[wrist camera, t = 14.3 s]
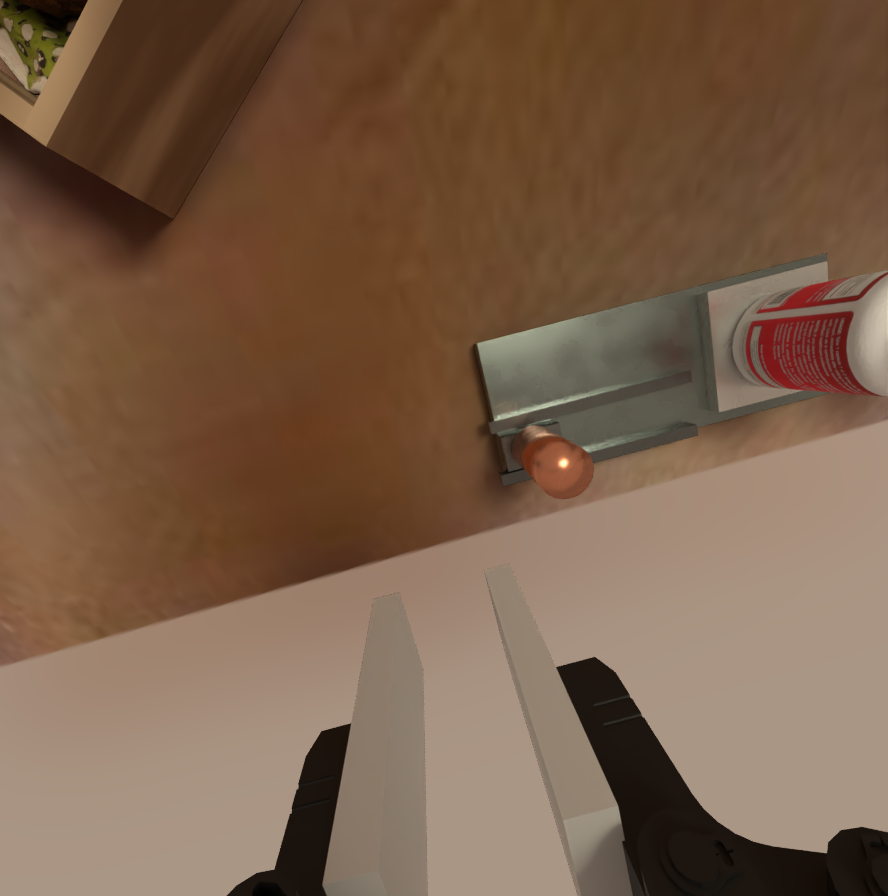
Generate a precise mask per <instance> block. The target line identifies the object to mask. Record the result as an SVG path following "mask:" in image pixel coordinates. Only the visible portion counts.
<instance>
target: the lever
mask: <svg viewBox="0 0 888 896" xmlns="http://www.w3.org/2000/svg"><path fill="white" fill-rule="evenodd" d="M498 436H499V441H500V445H501V450H502V454H503V459H504V463H505V467H506V469H507V470H508V471H509V472H510V471H514V470H517V469H521V468H523V469H524V470H525V471H526V472H527V473H528V475H529V476H530V477H531V478H532V479H533V480H534V481H535V482H536V483H537V484H538V485H539V486H540V487H541V488H542V489H543V490H544V491H545V492H546V493H547V494H548V495H550V496H552V497H554V498H558V499H569V498H573V497H575V496H577V495H579V494H581V493H582V492H583V491H584V490H585V489H586V488H587V487H588V486H589V484H590V482H591V480H592V477H593V472H594V467H593V462H592V459H591V457H590V455H589V454H588V453H587V452H586V451H585V450H584V449H583V448H581V447H579V446H577V445H576V444H574V443H572V442H570V441H568V440H567V439H565V438H563V437H562V433H561V428H560V423H559V422H557V421H551V422H547V423H543V424H539V425H533V426H528V427H526V428H524V429H520V430H516V431H513V432H509V433H505V434H501V435H498Z"/></svg>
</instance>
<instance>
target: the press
mask: <svg viewBox="0 0 888 896" xmlns="http://www.w3.org/2000/svg"><path fill="white" fill-rule="evenodd" d="M823 282H828V261H827V253H825V254H821V255H817V256H813V257H809V258H805V259H801V260H797V261H794V262H790V263H786V264H782V265H778V266H774V267H770V268H766V269H763V270H759V271H755V272H751V273H747V274H743V275H739V276H735V277H732V278H728V279H724V280H720V281H716V282H712V283H708V284H705V285H701V286H697V287H693V288H689V289H685V290H681V291H677V292H674V293H670V294H666V295H662V296H658V297H654V298H650V299H646V300H643V301H639V302H635V303H631V304H627V305H623V306H619V307H616V308H612V309H608V310H604V311H600V312H596V313H592V314H588V315H585V316H581V317H577V318H573V319H569V320H565V321H561V322H557V323H554V324H550V325H546V326H542V327H538V328H534V329H530V330H527V331H523V332H519V333H515V334H511V335H507V336H503V337H499V338H496V339H492V340H488V341H484V342H480V343H476V344H474V347H475V352H476V356H477V360H478V365H479V369H480V374H481V378H482V382H483V387H484V391H485V396H486V400H487V404H488V409H489V413H490V418H491V420H489V421H487V423H488V428H489V432H490V433H491V434H494V435H495V440H496V444H497V448H498V453H499V457H500V462H501V466H502V470H503V472H499V476H500V480H501V483H502V485H503V486H507V485H511V484H515V483H518V482H522V481H526V480H530V479H532V478H531V477H530V476H529V475H528V473H527V472H526V471H525V470H524V469H523V468H521V469H517V470H514V471H510V472H509V471H508V470H507V469H506V467H505V463H504V459H503V454H502V450H501V445H500V441H499V436H498V435H501V434H505V433H509V432H513V431H516V430H520V429H524V428H526V427H528V426H533V425H539V424H543V423H547V422H551V421H557V422H559V423H560V428H561V433H562V437H563V438H565V439H567V440H568V441H570V442H572V443H574V444H576V445H577V446H579V447H581V448H583V449H584V450H585V451H586V452H587V453H588V454H589V455H590V457H591V459H592V462H593V463H595V462H599V461H602V460H606V459H610V458H614V457H618V456H622V455H625V454H629V453H633V452H637V451H641V450H645V449H648V448H652V447H656V446H660V445H664V444H667V443H671V442H675V441H679V440H683V439H687V438H690V437H694V436H698V431H697V427H701V426H705V425H709V424H713V423H717V422H720V421H724V420H728V419H732V418H736V417H740V416H743V415H747V414H751V413H755V412H759V411H762V410H766V409H770V408H774V407H778V406H782V405H785V404H789V403H793V402H797V401H801V400H805V399H808V398H812V397H816V396H820V395H824V394H827V393H831V392H820V391H807V390H794V389H781V388H771V387H763V386H760V385H757V384H755V383H753V382H751V381H749V380H748V379H747V378H745V377H744V376H743V375H742V373H741V372H740V371H739V369H738V367H737V365H736V363H735V360H734V357H733V351H732V346H733V338H734V334H735V331H736V328H737V326H738V324H739V322H740V320H741V318H742V317H743V315H744V314H745V312H746V311H747V310H748V309H749V308H750V307H751V306H752V305H753V304H754V303H755V302H757V301H758V300H759V299H761V298H763V297H764V296H766V295H769V294H771V293H774V292H778V291H782V290H786V289H791V288H796V287H802V286H807V285H812V284H818V283H823Z"/></svg>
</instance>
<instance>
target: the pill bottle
mask: <svg viewBox="0 0 888 896" xmlns="http://www.w3.org/2000/svg"><path fill="white" fill-rule="evenodd" d="M732 351H733V357H734V360H735V363H736V365H737V367H738V369H739V371H740V372H741V373H742V375H743V376H744V377H745V378H747V379H748V380H749V381H751V382H753V383H755V384H757V385H760V386H763V387H771V388H781V389H794V390H807V391H820V392H833V393H846V394H859V395H872V396H884V397H888V270H885V271H880V272H875V273H870V274H865V275H860V276H854V277H849V278H844V279H838V280H833V281H828V282H823V283H818V284H812V285H807V286H802V287H796V288H791V289H786V290H782V291H778V292H774V293H771V294H769V295H766V296H764V297H763V298H761V299H759V300H758V301H757V302H755V303H754V304H753V305H752V306H751V307H750V308H749V309H748V310H747V311H746V312H745V314H744V315H743V317H742V318H741V320H740V322H739V324H738V326H737V328H736V331H735V334H734V338H733V346H732Z"/></svg>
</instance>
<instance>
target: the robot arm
mask: <svg viewBox="0 0 888 896" xmlns="http://www.w3.org/2000/svg"><path fill="white" fill-rule="evenodd" d="M484 572H485V576H486V580H487V584H488V588H489V592H490V596H491V599H492V604H493V608H494V612H495V615H496V619H497V623H498V627H499V631H500V635H501V639H502V643H503V647H504V651H505V654H506V658H507V661H508V664H509V667H510V671H511V674H512V677H513V681H514V684H515V687H516V691H517V694H518V698H519V701H520V704H521V708H522V711H523V714H524V718H525V721H526V724H527V728H528V731H529V734H530V738H531V741H532V745H533V748H534V751H535V754H536V758H537V761H538V765H539V768H540V771H541V775H542V778H543V781H544V785H545V788H546V791H547V795H548V798H549V801H550V805H551V808H552V811H553V814H554V818H555V822H556V825H557V828H558V832H559V835H560V838H561V842H562V845H563V848H564V852H565V855H566V858H567V862H568V865H569V868H570V872H571V875H572V878H573V882H574V885H575V888H576V892H577V895H578V896H888V832H883V831H878V830H874V829H869V828H864V827H859V828H853V829H847V830H841V831H840V832H839V833H838V834H837V835H836V836H834V837H833V838H832V839H831V840H830V841H829V842H828V850H827V853H819V852H810V851H804V850H796V849H788V848H780V847H773V846H769V845H764V844H760V843H756V842H753V841H750V840H748V839H746V838H744V837H742V836H739V835H737V834H735V833H733V832H732V831H730V830H729V829H727V828H726V827H724V826H723V825H721V824H720V823H718V822H717V821H716V820H715V819H714V818H713V817H712V816H711V815H710V814H709V813H707V812H706V811H705V810H704V809H703V808H702V806H701V805H700V804H699V802H698V801H697V800H696V799H695V797H694V796H693V795H692V793H691V792H690V790H689V788H688V787H687V785H686V783H685V782H684V780H683V779H682V777H681V775H680V774H679V773H678V771H677V769H676V768H675V766H674V764H673V763H672V761H671V760H670V758H669V757H668V755H667V753H666V752H665V750H664V749H663V747H662V745H661V744H660V742H659V741H658V739H657V737H656V736H655V734H654V733H653V731H652V730H651V728H650V726H649V725H648V723H647V722H646V720H645V718H643V717H642V715H641V712H640V711H639V709H638V707H637V706H636V705H635V703H634V701H633V699H631V698H630V695H629V693H628V691H627V690H626V688H625V687H624V685H623V684H622V682H621V680H620V679H619V677H618V676H617V674H616V672H614V671H613V670H612V669H610V668H609V667H608V666H606V665H605V664H604V663H602V662H601V661H600V660H598V659H597V658H596V657H593V658H589V659H585V660H582V661H578V662H574V663H571V664H567V665H563V666H559V667H556V666H555V664H554V662H553V660H552V657H551V655H550V653H549V651H548V649H547V646H546V644H545V642H544V640H543V637H542V635H541V633H540V631H539V628H538V626H537V624H536V622H535V620H534V617H533V615H532V613H531V611H530V608H529V606H528V604H527V602H526V599H525V597H524V595H523V593H522V591H521V588H520V586H519V584H518V582H517V579H516V577H515V576H514V573H513V571H512V568H511V566H510V564H505V565H501V566H497V567H493V568H489V569H485V570H484ZM424 735H425V734H424V684H423V668H422V665H421V661H420V658H419V655H418V651H417V648H416V645H415V642H414V639H413V635H412V632H411V629H410V626H409V623H408V619H407V616H406V613H405V610H404V606H403V603H402V600H401V597H400V594H399V592H398V593H394V594H390V595H387V596H383V597H379V598H375V599H374V600H373V606H372V611H371V617H370V622H369V628H368V633H367V639H366V645H365V650H364V656H363V661H362V667H361V672H360V678H359V683H358V689H357V695H356V700H355V706H354V711H353V717H352V722H351V724H347V725H343V726H340V727H336V728H332V729H328V730H325V731H322V732H321V733H320V735H319V736H318V738H317V740H316V741H315V743H314V744H313V746H312V748H311V749H310V751H309V752H308V754H307V756H306V758H305V762H304V765H303V769H302V773H301V776H300V780H299V783H298V784H299V788H298V789H297V791H296V794H295V798H294V801H293V805H292V814H290V816H289V820H288V823H287V827H286V830H285V834H284V837H283V841H282V845H281V848H280V852H279V855H278V859H277V862H276V866H275V870H270V871H265V872H260V873H256V874H255V875H253V876H251V877H250V878H248V879H246V880H245V881H243V882H242V883H240V884H238V885H237V886H236V887H235V888H234V889H233V890H232V891H231V892H230V893H229V894H228V895H227V896H428V883H427V836H426V789H425V788H426V786H425V739H424V738H425V737H424Z"/></svg>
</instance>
